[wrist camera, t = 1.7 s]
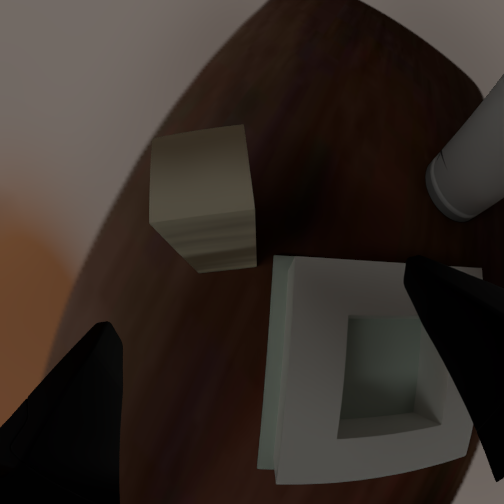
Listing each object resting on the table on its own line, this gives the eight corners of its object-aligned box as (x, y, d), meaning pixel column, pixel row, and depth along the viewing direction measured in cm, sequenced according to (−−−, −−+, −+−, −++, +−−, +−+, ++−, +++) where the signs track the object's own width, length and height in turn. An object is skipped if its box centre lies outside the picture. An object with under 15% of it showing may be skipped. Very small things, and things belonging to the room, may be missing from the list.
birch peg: (256, 266, 21) (255, 209, 11) (199, 273, 21) (149, 223, 11) (250, 212, 22) (243, 124, 12) (195, 219, 22) (152, 138, 12)
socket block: (441, 447, 16) (472, 463, 12) (257, 465, 17) (256, 496, 12) (455, 268, 20) (489, 254, 16) (273, 257, 21) (277, 236, 16)
